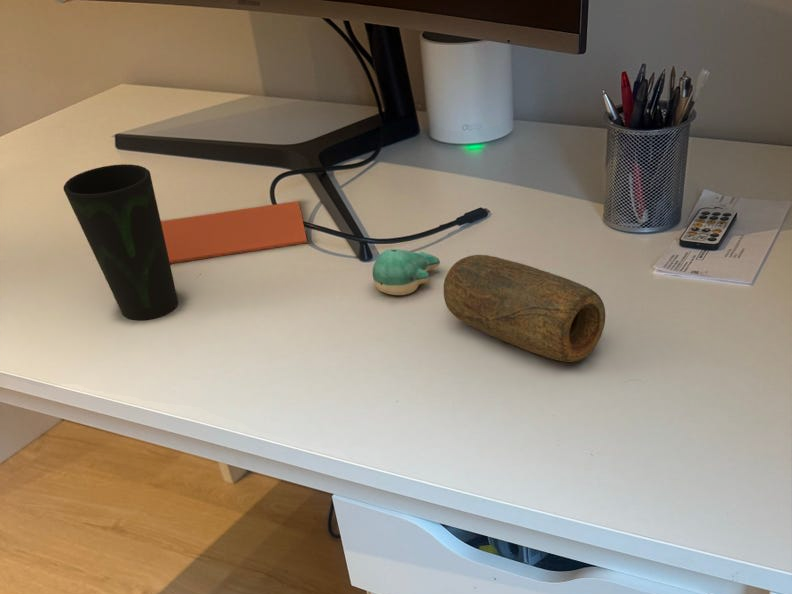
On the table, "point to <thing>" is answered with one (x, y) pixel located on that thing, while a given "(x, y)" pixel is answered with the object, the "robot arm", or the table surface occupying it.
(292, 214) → the flat orange rectangular block
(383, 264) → the whale figurine
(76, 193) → the cup
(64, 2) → the robot arm
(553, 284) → the wooden vase
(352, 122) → the table surface
